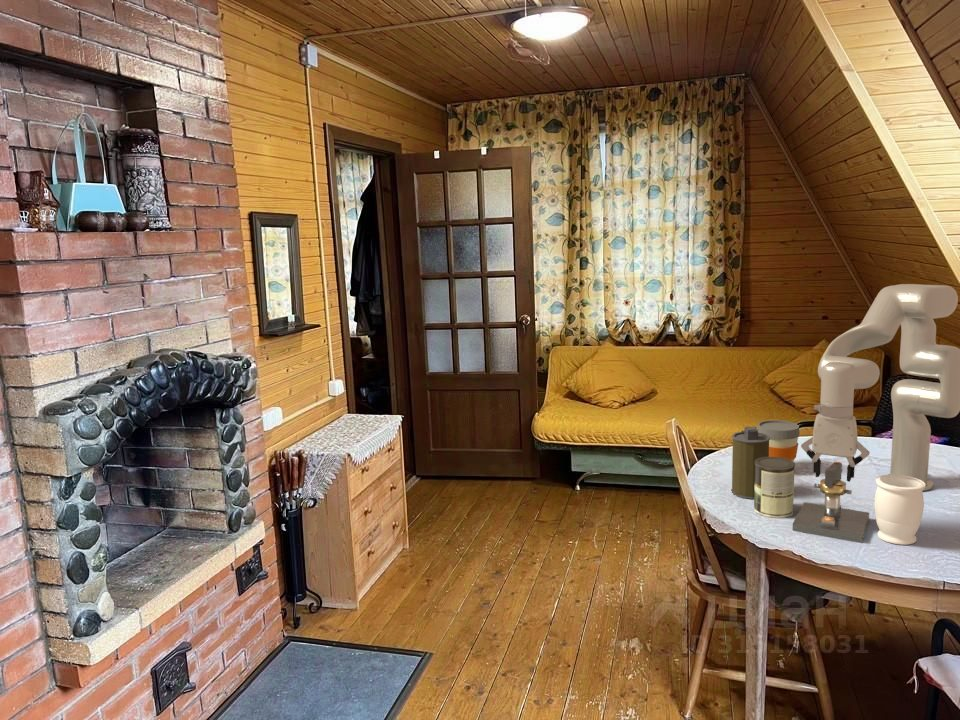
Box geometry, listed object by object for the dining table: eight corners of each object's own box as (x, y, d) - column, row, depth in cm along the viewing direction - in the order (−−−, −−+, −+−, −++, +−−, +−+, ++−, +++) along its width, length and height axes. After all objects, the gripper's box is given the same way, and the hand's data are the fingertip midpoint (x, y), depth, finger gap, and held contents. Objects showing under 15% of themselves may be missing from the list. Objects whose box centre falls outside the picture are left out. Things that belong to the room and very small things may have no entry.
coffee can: (745, 509, 202) (746, 460, 200) (771, 501, 207) (772, 454, 204) (775, 521, 193) (776, 471, 191) (801, 513, 198) (803, 463, 195)
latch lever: (810, 492, 188) (811, 466, 186) (819, 483, 193) (820, 458, 192) (846, 499, 182) (847, 473, 181) (855, 490, 187) (856, 464, 186)
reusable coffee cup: (760, 477, 226) (761, 430, 223) (752, 463, 238) (753, 420, 235) (803, 477, 224) (804, 430, 221) (792, 464, 236) (793, 419, 233)
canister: (773, 498, 208) (775, 432, 204) (737, 499, 209) (738, 433, 205) (761, 485, 219) (762, 421, 215) (726, 486, 219) (727, 423, 216)
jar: (904, 528, 185) (908, 472, 182) (930, 546, 175) (935, 487, 172) (864, 530, 185) (867, 475, 182) (887, 548, 175) (891, 489, 172)
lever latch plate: (803, 509, 200) (805, 478, 198) (869, 519, 191) (870, 487, 190) (792, 530, 187) (793, 497, 185) (861, 542, 178) (863, 508, 177)
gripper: (796, 411, 185) (794, 477, 189) (873, 418, 176) (869, 487, 179) (802, 404, 191) (800, 468, 195) (876, 410, 182) (872, 478, 185)
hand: (833, 477), depth 187 cm, fingers open, 6 cm apart
